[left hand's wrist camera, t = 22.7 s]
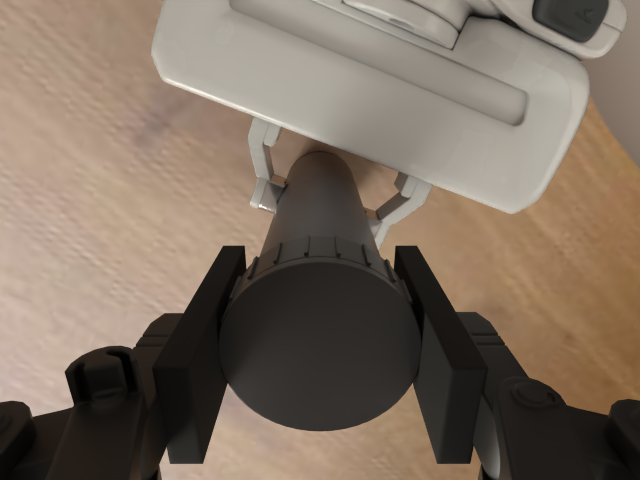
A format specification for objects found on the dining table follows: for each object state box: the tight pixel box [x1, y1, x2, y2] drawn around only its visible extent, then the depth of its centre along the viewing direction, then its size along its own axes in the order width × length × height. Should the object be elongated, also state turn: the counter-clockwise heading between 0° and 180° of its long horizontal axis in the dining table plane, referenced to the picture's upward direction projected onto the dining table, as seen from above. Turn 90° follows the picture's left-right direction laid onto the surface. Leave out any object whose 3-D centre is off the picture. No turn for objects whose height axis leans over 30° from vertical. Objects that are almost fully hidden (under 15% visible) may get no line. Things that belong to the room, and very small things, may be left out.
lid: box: [218, 235, 422, 431], centre depth 11 cm, size 6×6×2 cm
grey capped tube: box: [260, 152, 380, 256], centre depth 20 cm, size 5×5×18 cm
